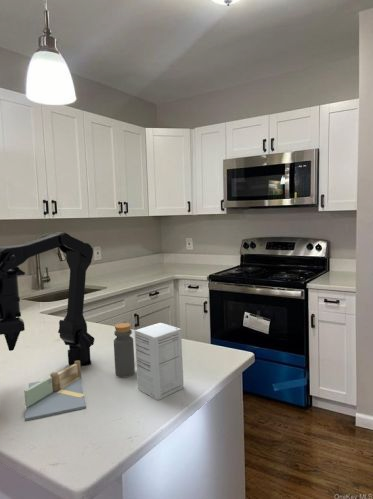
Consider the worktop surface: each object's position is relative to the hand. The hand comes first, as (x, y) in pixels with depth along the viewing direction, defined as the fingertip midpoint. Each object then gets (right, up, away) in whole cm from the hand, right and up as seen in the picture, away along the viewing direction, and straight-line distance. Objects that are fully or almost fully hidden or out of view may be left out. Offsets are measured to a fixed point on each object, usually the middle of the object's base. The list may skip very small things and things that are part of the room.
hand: (11, 350), depth 98 cm
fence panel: (+10, -11, -5) cm, 15 cm away
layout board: (+13, -12, -1) cm, 17 cm away
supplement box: (+41, -11, +1) cm, 42 cm away
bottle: (+29, -10, +11) cm, 33 cm away
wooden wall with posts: (+14, -11, +5) cm, 18 cm away
